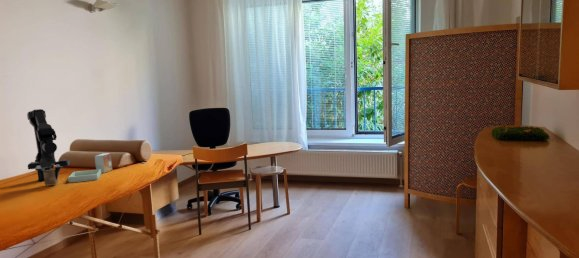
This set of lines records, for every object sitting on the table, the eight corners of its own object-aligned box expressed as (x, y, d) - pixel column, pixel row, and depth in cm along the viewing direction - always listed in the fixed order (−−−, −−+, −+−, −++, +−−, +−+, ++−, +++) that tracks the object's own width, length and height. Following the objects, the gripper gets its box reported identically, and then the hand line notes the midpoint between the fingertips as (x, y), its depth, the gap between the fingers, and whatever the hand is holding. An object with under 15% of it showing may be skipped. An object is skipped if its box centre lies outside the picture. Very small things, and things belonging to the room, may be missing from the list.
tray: (68, 182, 231) (68, 177, 230) (74, 176, 244) (73, 171, 244) (97, 179, 235) (97, 174, 234) (101, 174, 248) (100, 169, 248)
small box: (104, 173, 251) (102, 155, 250) (96, 173, 252) (94, 155, 251) (112, 170, 259) (111, 153, 258) (104, 170, 260) (102, 153, 259)
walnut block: (44, 185, 223) (43, 172, 222) (47, 182, 228) (45, 170, 227) (55, 184, 224) (54, 171, 224) (57, 181, 229) (56, 169, 228)
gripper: (22, 155, 214) (26, 185, 216) (63, 151, 219) (67, 181, 221) (29, 151, 224) (32, 180, 226) (68, 148, 229) (71, 176, 231)
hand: (51, 180), depth 226 cm, fingers closed on walnut block, 5 cm apart
